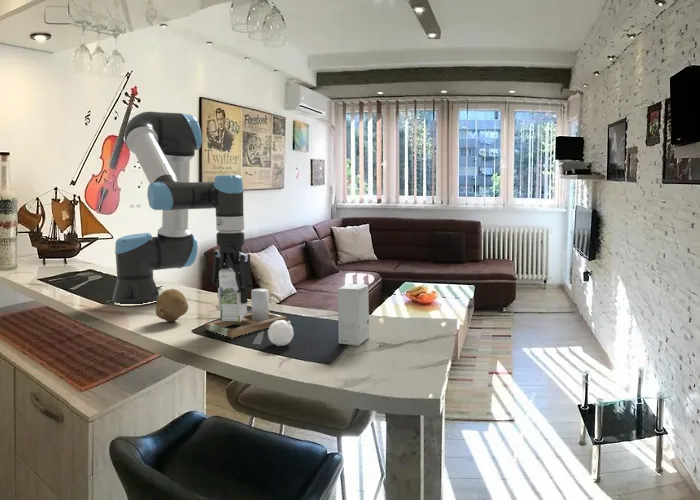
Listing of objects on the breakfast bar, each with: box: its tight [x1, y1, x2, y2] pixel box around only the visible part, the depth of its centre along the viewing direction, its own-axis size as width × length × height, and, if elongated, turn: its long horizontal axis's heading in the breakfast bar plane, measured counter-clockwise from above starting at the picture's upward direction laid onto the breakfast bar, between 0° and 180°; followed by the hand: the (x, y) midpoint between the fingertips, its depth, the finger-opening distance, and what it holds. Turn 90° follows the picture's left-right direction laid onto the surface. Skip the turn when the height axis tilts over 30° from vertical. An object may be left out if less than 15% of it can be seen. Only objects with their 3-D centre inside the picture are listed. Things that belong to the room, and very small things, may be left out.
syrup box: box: [219, 267, 245, 322], centre depth 154 cm, size 6×6×14 cm
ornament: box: [267, 320, 295, 347], centre depth 142 cm, size 6×7×7 cm
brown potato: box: [155, 288, 189, 323], centre depth 164 cm, size 9×9×10 cm
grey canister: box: [250, 288, 270, 322], centre depth 162 cm, size 5×5×10 cm
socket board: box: [205, 312, 288, 339], centre depth 159 cm, size 12×20×2 cm, turn 139°
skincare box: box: [337, 283, 370, 347], centre depth 145 cm, size 8×6×15 cm
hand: (232, 312), depth 154 cm, fingers closed on syrup box, 8 cm apart
